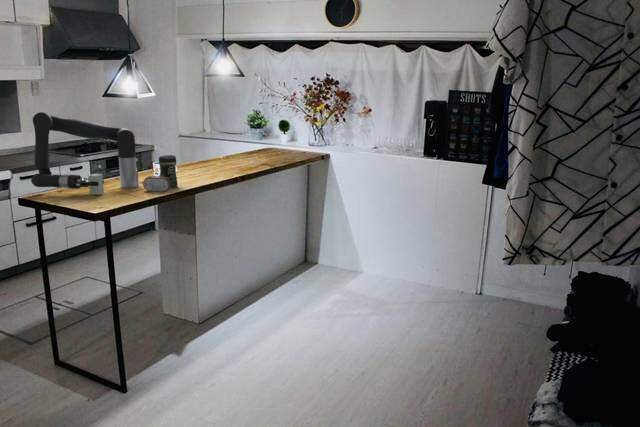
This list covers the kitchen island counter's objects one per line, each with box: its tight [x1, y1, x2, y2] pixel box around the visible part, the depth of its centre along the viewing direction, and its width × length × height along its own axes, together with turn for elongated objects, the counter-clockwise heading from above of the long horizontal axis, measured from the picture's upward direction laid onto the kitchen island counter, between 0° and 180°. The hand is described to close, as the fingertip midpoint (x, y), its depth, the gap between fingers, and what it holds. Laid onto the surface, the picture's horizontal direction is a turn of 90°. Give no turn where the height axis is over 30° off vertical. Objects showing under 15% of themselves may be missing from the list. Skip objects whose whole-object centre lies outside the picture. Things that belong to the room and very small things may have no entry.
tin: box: [142, 175, 171, 193], centre depth 296 cm, size 15×3×8 cm, turn 92°
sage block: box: [87, 173, 105, 195], centre depth 282 cm, size 5×5×10 cm
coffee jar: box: [158, 154, 178, 189], centre depth 306 cm, size 10×8×19 cm
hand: (100, 182), depth 282 cm, fingers closed on sage block, 5 cm apart
